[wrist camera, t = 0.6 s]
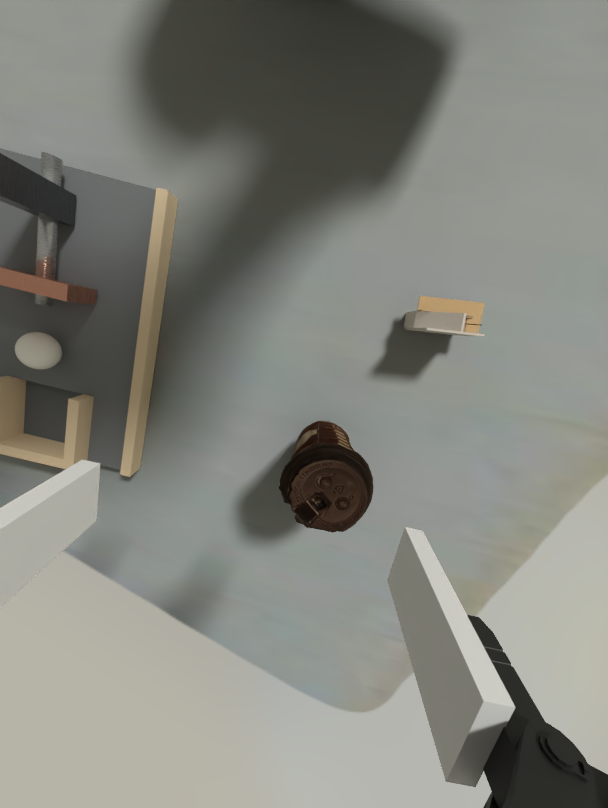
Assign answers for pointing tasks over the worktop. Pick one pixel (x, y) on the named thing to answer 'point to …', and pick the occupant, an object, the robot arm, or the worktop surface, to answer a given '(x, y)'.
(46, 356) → the ball
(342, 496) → the coffee cup
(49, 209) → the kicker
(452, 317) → the architectural model
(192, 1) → the worktop surface
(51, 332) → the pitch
